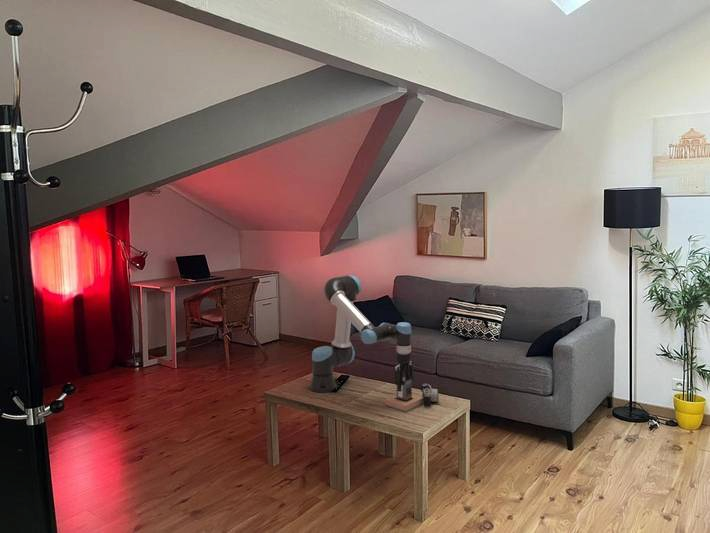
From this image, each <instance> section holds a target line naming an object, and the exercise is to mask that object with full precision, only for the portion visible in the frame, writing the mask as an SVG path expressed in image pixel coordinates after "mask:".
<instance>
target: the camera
mask: <svg viewBox="0 0 710 533" xmlns="http://www.w3.org/2000/svg"><path fill="white" fill-rule="evenodd" d="M420 392H421V393H422V394H421V397H423V407H424V408H425V409H427V408H428V409H430V408H432V407H431V405H432V404H431V402H439V388H432V385H430V384H429V383H422V384H421V386H420Z"/></svg>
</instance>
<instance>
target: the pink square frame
mask: <svg viewBox="0 0 710 533" xmlns="http://www.w3.org/2000/svg"><path fill="white" fill-rule="evenodd" d="M422 405H423V406H424V402H423V397H422V396H418V395H416V394H412V400H410V401H408V402H404V401H400V400H397V393H396V394H394V395H391V396H389V397H387V398H385V399H384V406H385V407H387V408H391V409H394V410H397V411H401V412H403V413H408V412H410V411H412V410H414V409H417V408H418V407H420V406H422Z"/></svg>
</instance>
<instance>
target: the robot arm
mask: <svg viewBox="0 0 710 533" xmlns="http://www.w3.org/2000/svg"><path fill="white" fill-rule="evenodd" d="M361 284H362V283H361V281H360V280H359V278H358V277H357V276H355V275H349V274H347V275H343V276H335V277H332V278H329V279H328V280H327V281H326V282H325V284H324V288H323V289H324V290H323V291H324V296H325V297H326V299H327V301H328V302H329V303H330V305H333V306H335V307H336V308H337V310H336V320H335V331H334V339H333V340H332V341H331V346H330V345H329V346H328V345H323V346H319V347H316V348H314V349H313V350H312V353H311V361H312V362H311V364H312V376H311V381H310V383H309V390H310V391H312V392H314V393H321V394H323V393H330V392H333V391H334V390H333V389H334V388H335V387H336V388H337V382H336V379H335V376H334V369H335V368H338V367H342V366H346V365H348V364H351V363H352V362H353V360H354V359H355V356H356V354H355V352H356V351H355V349H354V348H355V347H354V346H353V345H352V342H351V341H350V338H351V336H350V335H351V326H352V325H353V326H354V327H355V329H357V331H358V332H359V333H360V339H361V342H363V344H365V345H371V344H375V343H378V342H381V341H386V340H389V339H391V340H394V341H395V340H396V360H397V365H396V366H393V369H394V385H396V386H397V385H398V397H401V398H403V385H402V381H403V377H405V378H409V379H412V381H413V380H414V361H411V360H412V353H411V352H412V325H411V324H410V323H409V322H404V321H402V322H397V324H391V323H388V322H382V323H380V324H379V325H378V326H374V324H373V323H372V322H371V321H369V319H368V318H367V317H366V316H365V315H364V314H363V313H362V311H360V310H359V309H358V307H356V306H355V304H354V302H356V300H357V296H358V295H359V294H360V293H361V291H362V285H361ZM404 375H405V376H404ZM332 390H333V391H332Z"/></svg>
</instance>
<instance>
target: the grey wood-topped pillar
mask: <svg viewBox="0 0 710 533" xmlns="http://www.w3.org/2000/svg"><path fill="white" fill-rule="evenodd" d="M412 383H413V380H412V379H409V378H406V377H405V376H403V381H402V385H403V398H401V397H398V385H396V394H397V400H400V401H404V402H408V401H410V400H412V395H413V394H412V393H413V392H412V390H413V389H412V388H413V387H412V385H413V384H412Z"/></svg>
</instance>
